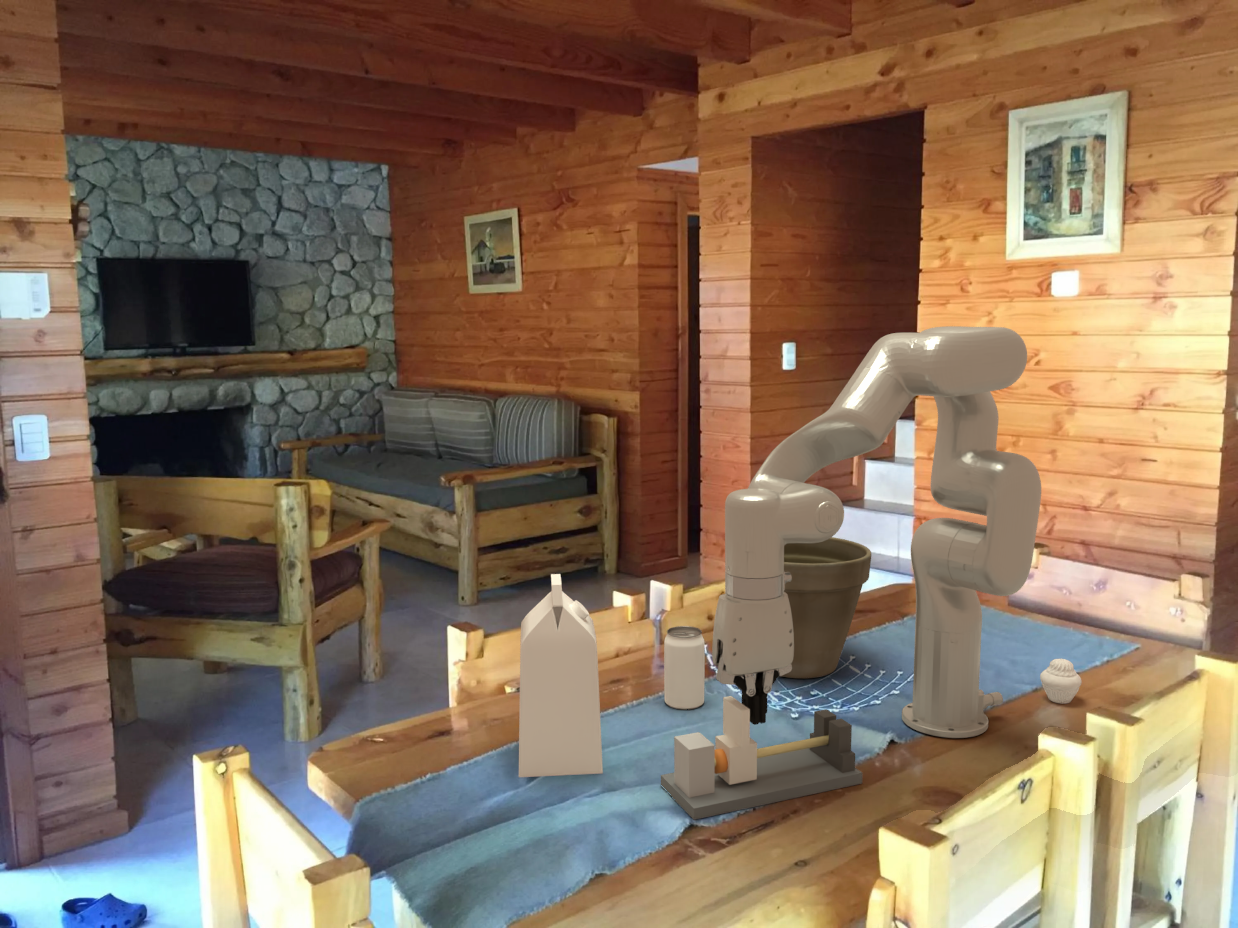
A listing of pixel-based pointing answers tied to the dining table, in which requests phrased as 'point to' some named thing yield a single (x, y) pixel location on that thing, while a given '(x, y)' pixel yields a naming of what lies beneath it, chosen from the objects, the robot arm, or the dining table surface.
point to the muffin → (1060, 681)
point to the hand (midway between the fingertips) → (754, 719)
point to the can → (684, 667)
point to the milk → (559, 689)
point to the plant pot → (823, 600)
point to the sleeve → (737, 743)
